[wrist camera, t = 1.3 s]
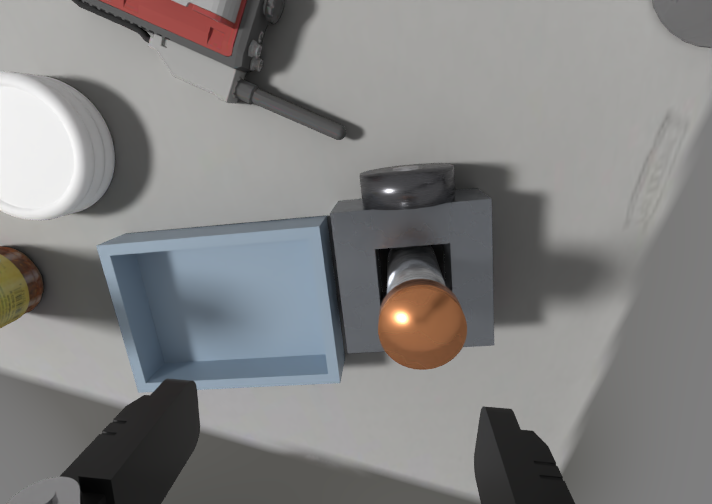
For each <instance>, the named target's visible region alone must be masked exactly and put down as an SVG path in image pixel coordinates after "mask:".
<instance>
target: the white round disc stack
mask: <svg viewBox="0 0 712 504" xmlns="http://www.w3.org/2000/svg"><path fill="white" fill-rule="evenodd" d="M114 166H115V153H114V145H113V141H112V137H111V134H110V131H109V129H108V127H107V124H106V122H105V120H104V119H103V117H102V116H101V114H100V112H99V111H98V110H97V108H96V107H95V106H94V105H93V104H92V103H91V102H90V101H89V99H88V98H87V97H85V96H84V95H83V94H82V93H80V92H79V91H78V90H76V89H74V88H73V87H71V86H70V85H68V84H66V83H64V82H62V81H59V80H57V79H54V78H51V77H46V76H40V75H32V74H23V73H17V72H5V71H3V72H0V211H2V212H4V213H7V214H9V215H11V216H14V217H18V218H22V219H27V220H50V219H54V218H58V217H61V216H65V215H69V214H71V213H75V212H79V211H82V210H84V209H87V208H88V207H90V206H92V205H93V204H94V203H96V202H97V201H98V200H99V199H100V198H101V197H102V196H103V194H104V193H105V192H106V190H107V189H108V187H109V185H110V182H111V180H112V177H113V173H114Z"/></svg>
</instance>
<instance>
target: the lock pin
mask: <svg viewBox="0 0 712 504" xmlns="http://www.w3.org/2000/svg"><path fill="white" fill-rule="evenodd" d="M378 335H379V340H380V343H381V345H382V347H383V349H384V350H385V352H386V353H387V354H388V355H389V356H390V357H391V358H392V359H393V360H394V361H396V362H397V363H399V364H401V365H403V366H406V367H408V368H413V369H432V368H436V367H439V366H442V365H444V364H446V363H448V362H449V361H451V360H452V359H453V358H454V357H455V356H456V355H457V354H458V353H459V352H460V350H461V349H462V347H463V345H464V343H465V340H466V336H467V322H466V319H465V316H464V313H463V311H462V308H461V305H460V303H459V301H458V299H457V297H456V296H455V295H454V293H453V292H452V291H451V290H450V289H449V288H447V287H446V285H445V282H444V279H443V276H442V273H441V270H440V268H439V265H438V262H437V259H436V256H435V253H434V250H433V249H432V247H431V246H430V245H422V246H409V247H397V248H391V249H390V251H389V254H388V266H387V295H386V296H385V298H384V299H383V301H382V304H381V306H380V310H379V320H378Z"/></svg>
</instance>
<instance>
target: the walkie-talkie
mask: <svg viewBox="0 0 712 504" xmlns="http://www.w3.org/2000/svg"><path fill="white" fill-rule="evenodd" d="M72 1H73V2H74V3H76V4H77V5H78V6H79V7H81V8H83V9H86V10H88V11H90V12H93V13H95V14H97V15H99V16H102V17H104V18H106V19H109V20H111V21H113V22H116V23H118V24H120V25H122V26H125V27H127V28H129V29H131V30H133V31H135V32H137V33H138V34H140V35H141V37H142V38H143V39H144V40H145V41H146V42H148V43H149V44H148V47H151V48H153V49H155V50H157V52H158V54H159V55H160V57H161V58H162V60H163V61H164V63H165V64H166V66H167V67H168V69H169V71H170V72H171V74H172V75H173V76H174V77H176V78H178V79H180V80H183V81H185V82H187V83H189V84H192V85H194V86H196V87H199V88H201V89H203V90H205V91H208V92H210V93H212V94H214V95H216V96H217V98H218V99H220V100H223V101H225V102H228V103H237V101H238V99H239V100H242V101H244V102H247V103H249V104H252V103H254V104H256V105H258V106H261V107H263V108H265V109H268V110H270V111H272V112H274V113H277V114H279V115H281V116H284V117H286V118H288V119H291V120H293V121H295V122H297V123H300V124H302V125H304V126H307V127H309V128H311V129H313V130H316V131H318V132H320V133H323V134H325V135H327V136H330V137H332V138H334V139H336V140H341V139H343V138H344V137H345V135H346V130H345V127H344V126H343V125H341V124H338V123H336V122H334V121H331V120H329V119H327V118H325V117H322V116H320V115H318V114H315V113H313V112H311V111H309V110H306V109H304V108H302V107H299V106H297V105H295V104H293V103H290V102H288V101H286V100H283V99H281V98H279V97H277V96H274V95H272V94H270V93H268V92H265V91H263V90H261V89H258V87H257V86H256V85H254V84H252V83H250V82H247V81H245V80H244V78H245V75H246V72H250V71H254V70H257V71H260V70H261V68H262V66H263V60H262V59H260V58H259V56H260V54H261V50H262V46H261V43H262V40H263V37H264V33H265V30H266V27H267V24H268V22H270V23H272V24H274V23H276V22H277V21H278V20H279V18H280V16H281V14H282V11H283V8H284V2H285V0H72ZM142 28H143V29H142ZM144 29H146V30H147V31H150V32H152V33H154V35H153V37H151V36H150V35H149V34H148V33H147V31H145V30H144Z"/></svg>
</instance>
